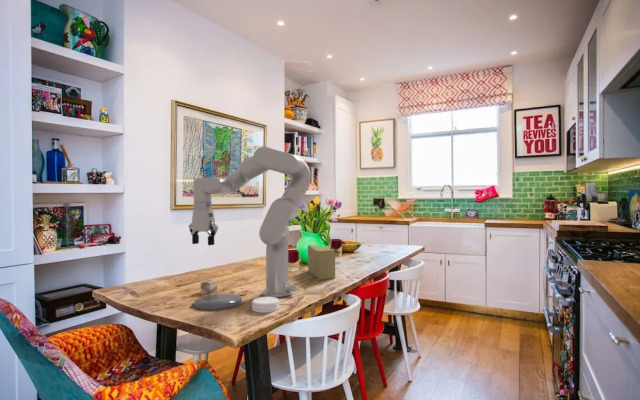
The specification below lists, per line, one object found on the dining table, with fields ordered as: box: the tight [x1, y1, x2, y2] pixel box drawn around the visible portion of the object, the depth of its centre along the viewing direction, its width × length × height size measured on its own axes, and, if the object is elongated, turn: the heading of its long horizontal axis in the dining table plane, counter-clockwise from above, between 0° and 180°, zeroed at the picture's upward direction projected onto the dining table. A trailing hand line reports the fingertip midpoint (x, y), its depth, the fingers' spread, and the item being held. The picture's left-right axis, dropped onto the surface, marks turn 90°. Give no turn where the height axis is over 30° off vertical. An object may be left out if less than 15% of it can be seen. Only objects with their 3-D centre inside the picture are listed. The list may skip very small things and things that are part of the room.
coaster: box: [251, 296, 280, 314], centre depth 135 cm, size 10×10×4 cm
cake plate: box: [193, 293, 243, 311], centre depth 143 cm, size 18×18×1 cm
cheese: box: [307, 244, 336, 281], centre depth 191 cm, size 22×10×15 cm, turn 26°
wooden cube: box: [200, 279, 218, 295], centre depth 159 cm, size 5×5×5 cm
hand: (203, 244), depth 161 cm, fingers open, 9 cm apart
